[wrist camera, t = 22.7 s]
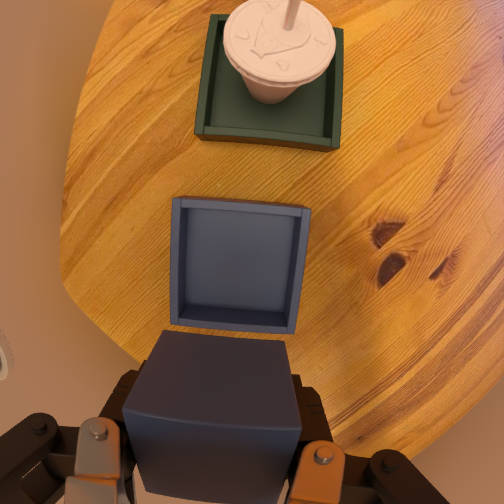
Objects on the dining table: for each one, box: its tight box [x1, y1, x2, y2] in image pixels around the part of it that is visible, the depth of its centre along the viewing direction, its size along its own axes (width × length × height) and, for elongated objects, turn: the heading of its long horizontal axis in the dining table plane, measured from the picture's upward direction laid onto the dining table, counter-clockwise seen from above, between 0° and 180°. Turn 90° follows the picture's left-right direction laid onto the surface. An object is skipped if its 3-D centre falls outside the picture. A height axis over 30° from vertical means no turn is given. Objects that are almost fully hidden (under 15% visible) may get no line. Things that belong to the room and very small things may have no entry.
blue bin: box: [170, 196, 311, 334], centre depth 25 cm, size 10×10×4 cm
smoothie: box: [223, 0, 336, 104], centre depth 16 cm, size 6×6×14 cm
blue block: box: [122, 330, 302, 504], centre depth 9 cm, size 4×4×4 cm
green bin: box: [194, 14, 344, 152], centre depth 21 cm, size 11×11×4 cm
